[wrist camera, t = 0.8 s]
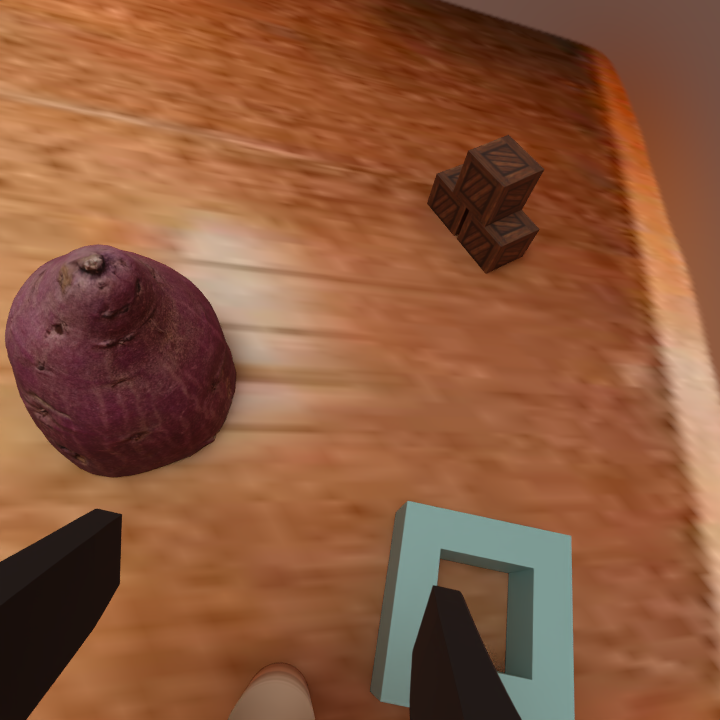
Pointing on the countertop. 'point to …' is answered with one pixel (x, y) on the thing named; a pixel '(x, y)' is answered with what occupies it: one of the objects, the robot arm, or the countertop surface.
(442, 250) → the countertop surface
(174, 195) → the countertop surface
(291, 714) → the maple dowel
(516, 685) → the teal square frame block
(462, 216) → the stack of crates
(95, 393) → the vegetable
